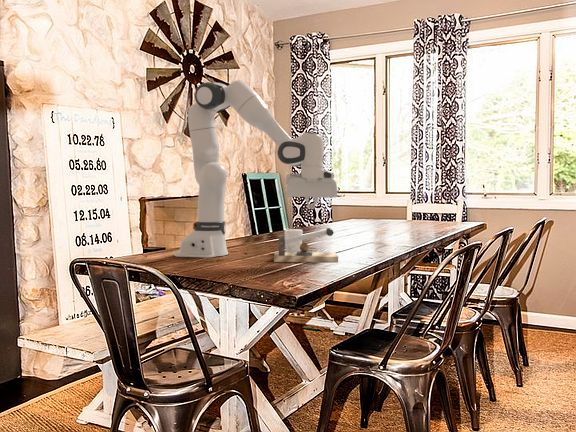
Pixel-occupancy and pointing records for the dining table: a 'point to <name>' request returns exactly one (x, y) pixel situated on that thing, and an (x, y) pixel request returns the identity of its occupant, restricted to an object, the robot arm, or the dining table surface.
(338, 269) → the dining table surface
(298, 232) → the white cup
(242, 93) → the robot arm
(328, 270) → the dining table surface
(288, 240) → the lever
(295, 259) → the nutcracker base
